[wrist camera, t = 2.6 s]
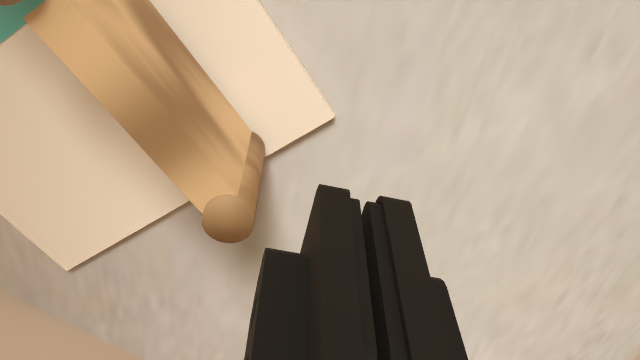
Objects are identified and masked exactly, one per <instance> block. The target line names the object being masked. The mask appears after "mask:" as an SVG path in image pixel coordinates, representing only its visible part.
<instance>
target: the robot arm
mask: <svg viewBox="0 0 640 360" xmlns="http://www.w3.org/2000/svg"><path fill="white" fill-rule="evenodd" d="M244 360H468V358H467V354H466V351H465V347H464V344H463V341H462V337H461V334H460V330H459V327H458V324H457V320H456V317H455V314H454V310H453V307H452V303H451V300H450V297H449V293H448V290H447V287H446V285H445V282H444V281H443V280H441V279H440V278H434V277H430V274H429V270H428V266H427V262H426V258H425V255H424V251H423V247H422V243H421V239H420V236H419V232H418V228H417V224H416V220H415V217H414V213H413V209H412V205H411V203H410V202H409V201H405V200H399V199H394V198H389V197H384V196H379V197H378V199H377V200H376V203H374V202H368V201H367V202H366V204H365V206H364V209H363V212H362V215H361V208H360V201H359V200H358V199H353V198H350V191H349V190H348V189H342V188H337V187H332V186H327V185H322V184H319V186H318V188H317V191H316V195H315V198H314V202H313V206H312V210H311V214H310V217H309V221H308V225H307V229H306V233H305V237H304V240H303V244H302V248H301V252H300V254H299V253H293V252H288V251H282V250H276V249H271V248H265V251H264V255H263V259H262V264H261V268H260V273H259V277H258V282H257V287H256V292H255V297H254V302H253V308H252V313H251V319H250V325H249V332H248V339H247V345H246V352H245V359H244Z"/></svg>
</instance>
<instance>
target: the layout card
mask: <svg viewBox="0 0 640 360" xmlns="http://www.w3.org/2000/svg"><path fill="white" fill-rule="evenodd" d="M44 1H45V0H23V1H21V2H19V3H17V4H14V5H8V6H1V5H0V215H1V216H3V217H4V218H5V219H6V220H7V221H8V222H10V223H11V224H12V225H13V226H14V227H15V228H17V229H18V230H19V231H20V232H21V233H22V234H24V235H25V236H26V237H27V238H28V239H29V240H31V241H32V242H33V243H34V244H35V245H36V246H38V247H39V248H40V249H41V250H42V251H43V252H45V253H46V254H47V255H48V256H49V257H50V258H52V259H53V260H54V261H55V262H56V263H57V264H58V265H60V266H61V267H62V268H63V269H64V270H65V271H68V270H70V269H71V268H73V267H75V266H77V265H78V264H80V263H82V262H84V261H85V260H87V259H89V258H90V257H92V256H94V255H96V254H97V253H99V252H101V251H103V250H104V249H106V248H108V247H110V246H111V245H113V244H115V243H117V242H118V241H120V240H122V239H124V238H125V237H127V236H129V235H131V234H132V233H134V232H136V231H137V230H139V229H141V228H143V227H144V226H146V225H148V224H150V223H151V222H153V221H155V220H157V219H158V218H160V217H162V216H164V215H165V214H167V213H169V212H171V211H172V210H174V209H176V208H178V207H179V206H181V205H183V204H185V203H186V202H188V201H190V200H189V199H188V198H187V197H186V196H185V195H184V194H183V193H182V191H181V190H180V189H179V188H178V187H177V186H176V185H175V184H174V183H173V182H172V181H171V179H170V178H169V177H168V176H167V175H166V174H165V173H164V172H163V171H162V170H161V169H160V167H159V166H158V165H157V164H156V163H155V162H154V161H153V160H152V159H151V158H150V157H149V156H148V154H147V153H146V152H145V151H144V150H143V149H142V148H141V147H140V146H139V145H138V144H137V142H136V141H135V140H134V139H133V138H132V137H131V136H130V135H129V134H128V133H127V132H126V130H125V129H124V128H123V127H122V126H121V125H120V124H119V123H118V122H117V121H116V120H115V118H114V117H113V116H112V115H111V114H110V113H109V112H108V111H107V110H106V109H105V108H104V107H103V105H102V104H101V103H100V102H99V101H98V100H97V99H96V98H95V97H94V96H93V95H92V93H91V92H90V91H89V90H88V89H87V88H86V87H85V86H84V85H83V84H82V83H81V81H80V80H79V79H78V78H77V77H76V76H75V75H74V74H73V73H72V72H71V71H70V69H69V68H68V67H67V66H66V65H65V64H64V63H63V62H62V61H61V60H60V59H59V58H58V56H57V55H56V54H55V53H54V52H53V51H52V50H51V49H50V48H49V47H48V46H47V44H46V43H45V42H44V41H43V40H42V39H41V38H40V37H39V36H38V35H37V34H36V32H35V31H34V30H33V29H32V28H31V27H30V26H29V25H28V24H27V23H26V22H25V20H24V19H23V18H24V17H25V16H26V15H27V14H29V13H30V12H31V11H33V10H34V9H35V8H36V7H38V6H39V5H40V4H42V3H43V2H44ZM150 2H151V3H152V4H153V6H154V7H155V8H156V9H157V11H158V12H159V13H160V14H161V16H162V17H163V18H164V20H165V21H166V22H167V23H168V25H169V26H170V27H171V29H172V30H173V31H174V32H175V34H176V35H177V36H178V38H179V39H180V40H181V41H182V43H183V44H184V45H185V47H186V48H187V49H188V50H189V52H190V53H191V54H192V55H193V57H194V58H195V59H196V61H197V62H198V63H199V64H200V66H201V67H202V68H203V70H204V71H205V72H206V73H207V75H208V76H209V77H210V79H211V80H212V81H213V82H214V84H215V85H216V86H217V88H218V89H219V90H220V91H221V93H222V94H223V95H224V96H225V98H226V99H227V100H228V102H229V103H230V104H231V105H232V107H233V108H234V109H235V111H236V112H237V113H238V114H239V116H240V117H241V118H242V120H243V121H244V122H245V123H246V125H247V126H248V127H249V129H250V130H251V131H252V132H254V133H256V134H257V135H259V136H260V137H261V139H262V140H263V142H264V144H265V156H264V158H265V157H266V156H268V155H270V154H272V153H273V152H275V151H277V150H279V149H280V148H282V147H284V146H285V145H287V144H289V143H291V142H292V141H294V140H296V139H298V138H299V137H301V136H303V135H305V134H306V133H308V132H310V131H312V130H313V129H315V128H317V127H319V126H320V125H322V124H324V123H326V122H327V121H329V120H331V119H332V118H334V117H335V113H334V111H333V110H332V108H331V107H330V105H329V104H328V102H327V101H326V99H325V98H324V96H323V95H322V93H321V92H320V90H319V89H318V87H317V86H316V84H315V83H314V82H313V80H312V79H311V77H310V76H309V74H308V73H307V71H306V70H305V68H304V67H303V65H302V64H301V62H300V61H299V59H298V58H297V56H296V55H295V53H294V52H293V50H292V49H291V47H290V46H289V45H288V43H287V42H286V40H285V39H284V37H283V36H282V34H281V33H280V31H279V30H278V28H277V27H276V25H275V24H274V22H273V21H272V19H271V18H270V16H269V15H268V13H267V12H266V10H265V9H264V8H263V6H262V5H261V3H260V2H259V0H150Z"/></svg>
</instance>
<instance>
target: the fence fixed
mask: <svg viewBox="0 0 640 360" xmlns="http://www.w3.org/2000/svg"><path fill="white" fill-rule="evenodd" d="M21 1H23V0H0V5H1V6H8V5H14V4H17V3H19V2H21Z"/></svg>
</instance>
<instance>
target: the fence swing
mask: <svg viewBox="0 0 640 360" xmlns="http://www.w3.org/2000/svg"><path fill="white" fill-rule="evenodd" d="M23 19H24V20H25V22H26V23H27V24H28V25H29V26H30V27H31V28H32V29H33V30H34V31H35V32H36V34H37V35H38V36H39V37H40V38H41V39H42V40H43V41H44V42H45V43H46V44H47V46H48V47H49V48H50V49H51V50H52V51H53V52H54V53H55V54H56V55H57V56H58V58H59V59H60V60H61V61H62V62H63V63H64V64H65V65H66V66H67V67H68V68H69V69H70V71H71V72H72V73H73V74H74V75H75V76H76V77H77V78H78V79H79V80H80V81H81V83H82V84H83V85H84V86H85V87H86V88H87V89H88V90H89V91H90V92H91V93H92V95H93V96H94V97H95V98H96V99H97V100H98V101H99V102H100V103H101V104H102V105H103V107H104V108H105V109H106V110H107V111H108V112H109V113H110V114H111V115H112V116H113V117H114V118H115V120H116V121H117V122H118V123H119V124H120V125H121V126H122V127H123V128H124V129H125V130H126V132H127V133H128V134H129V135H130V136H131V137H132V138H133V139H134V140H135V141H136V142H137V144H138V145H139V146H140V147H141V148H142V149H143V150H144V151H145V152H146V153H147V154H148V156H149V157H150V158H151V159H152V160H153V161H154V162H155V163H156V164H157V165H158V166H159V167H160V169H161V170H162V171H163V172H164V173H165V174H166V175H167V176H168V177H169V178H170V179H171V181H172V182H173V183H174V184H175V185H176V186H177V187H178V188H179V189H180V190H181V191H182V193H183V194H184V195H185V196H186V197H187V198H188V199H189V200H190V201H191V202H192V203H193V205H194V206H195V207H196V208H197V209H198V210H199V211H200V212H201V213H202V214H203V215H202V226H203V228H204V230H205V232H206V233H207V234H208V235H209V236H210V237H212V238H213V239H215V240H217V241H220V242H224V243H235V242H239V241H242V240H244V239H245V238H247V237H248V236H249V235H250V233H251V232H252V230H253V225H254V219H255V213H256V206H257V200H258V194H259V187H260V181H261V175H262V169H263V162H264V156H265V144H264V142H263V140H262V139H261V137H260V136H259V135H257V134H256V133H254V132H252V131H251V130H250V129H249V127H248V126H247V125H246V123H245V122H244V121H243V120H242V118H241V117H240V116H239V114H238V113H237V112H236V111H235V109H234V108H233V107H232V105H231V104H230V103H229V102H228V100H227V99H226V98H225V96H224V95H223V94H222V93H221V91H220V90H219V89H218V88H217V86H216V85H215V84H214V82H213V81H212V80H211V79H210V77H209V76H208V75H207V73H206V72H205V71H204V70H203V68H202V67H201V66H200V64H199V63H198V62H197V61H196V59H195V58H194V57H193V55H192V54H191V53H190V52H189V50H188V49H187V48H186V47H185V45H184V44H183V43H182V41H181V40H180V39H179V38H178V36H177V35H176V34H175V32H174V31H173V30H172V29H171V27H170V26H169V25H168V23H167V22H166V21H165V20H164V18H163V17H162V16H161V14H160V13H159V12H158V11H157V9H156V8H155V7H154V6H153V4H152V3H151V2H150V0H45V1H44V2H43V3H42V4H40V5H39V6H38V7H36V8H35V9H34V10H33V11H31V12H30V13H29V14H27V15H26V16H25V17H24V18H23Z"/></svg>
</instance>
